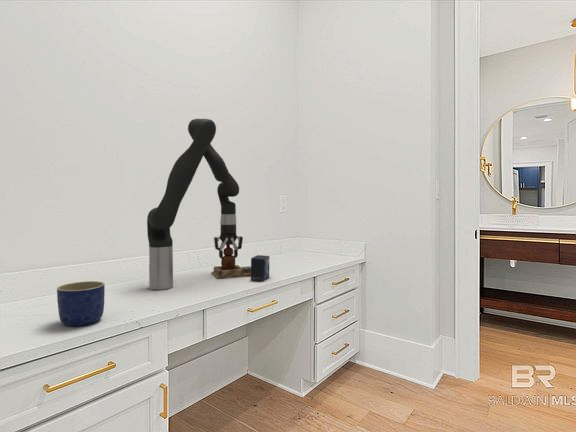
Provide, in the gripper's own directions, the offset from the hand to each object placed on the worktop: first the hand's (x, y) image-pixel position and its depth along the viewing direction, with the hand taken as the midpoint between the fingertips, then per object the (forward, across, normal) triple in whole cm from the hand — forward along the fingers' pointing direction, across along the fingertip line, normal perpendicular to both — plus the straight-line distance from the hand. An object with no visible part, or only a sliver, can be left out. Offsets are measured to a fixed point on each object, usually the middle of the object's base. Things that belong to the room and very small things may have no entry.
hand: (228, 258), depth 181 cm
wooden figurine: (+6, 0, 0) cm, 6 cm away
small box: (+9, +11, -15) cm, 21 cm away
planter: (+9, -57, -52) cm, 78 cm away
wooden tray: (+8, +3, 0) cm, 9 cm away
